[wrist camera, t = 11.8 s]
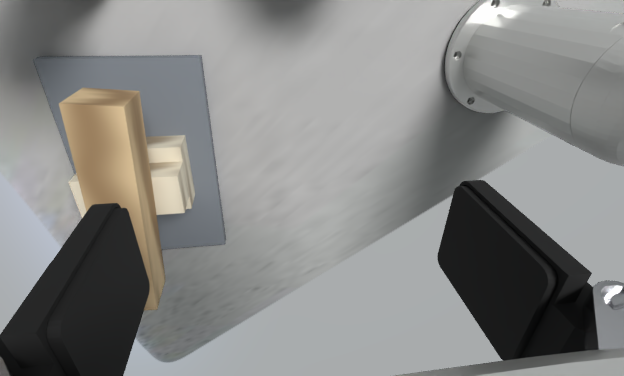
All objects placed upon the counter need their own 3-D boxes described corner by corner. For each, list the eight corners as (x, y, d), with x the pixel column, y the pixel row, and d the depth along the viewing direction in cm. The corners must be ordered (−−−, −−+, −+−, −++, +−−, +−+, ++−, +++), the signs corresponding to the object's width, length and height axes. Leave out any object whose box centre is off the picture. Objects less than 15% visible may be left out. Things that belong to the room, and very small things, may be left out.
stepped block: (184, 135, 36) (174, 161, 31) (195, 193, 40) (187, 225, 34) (89, 138, 35) (62, 166, 30) (109, 199, 38) (87, 232, 33)
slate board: (201, 55, 34) (199, 57, 32) (225, 238, 45) (225, 244, 44) (39, 56, 32) (32, 59, 31) (107, 247, 43) (104, 253, 42)
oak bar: (139, 90, 28) (123, 106, 24) (165, 279, 37) (157, 309, 34) (82, 87, 27) (58, 103, 23) (124, 280, 37) (111, 311, 33)
